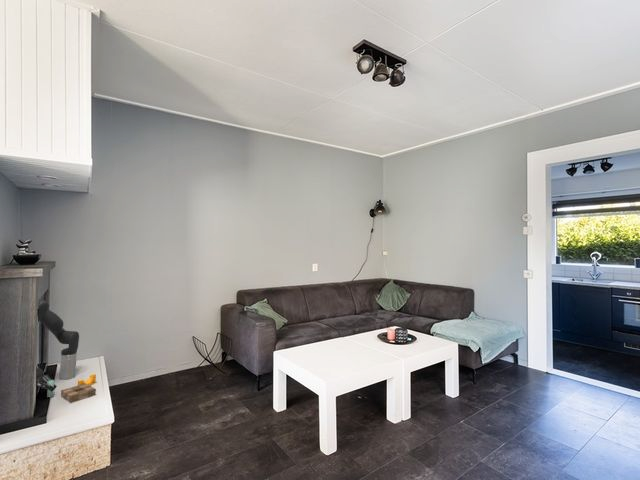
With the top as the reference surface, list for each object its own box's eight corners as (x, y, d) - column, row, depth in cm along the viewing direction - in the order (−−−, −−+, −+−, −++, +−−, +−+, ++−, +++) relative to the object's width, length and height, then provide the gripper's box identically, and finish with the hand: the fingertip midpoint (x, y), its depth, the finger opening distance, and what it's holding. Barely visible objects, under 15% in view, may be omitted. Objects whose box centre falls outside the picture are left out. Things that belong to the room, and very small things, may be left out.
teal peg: (46, 396, 214) (47, 380, 214) (51, 395, 217) (52, 379, 217) (48, 398, 213) (49, 382, 213) (53, 396, 215) (54, 380, 215)
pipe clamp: (90, 382, 237) (90, 373, 238) (95, 383, 237) (95, 374, 237) (75, 390, 226) (75, 380, 226) (80, 390, 225) (81, 381, 225)
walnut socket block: (60, 396, 215) (61, 390, 215) (85, 389, 227) (85, 383, 227) (70, 403, 208) (71, 396, 208) (95, 395, 220) (95, 389, 220)
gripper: (32, 371, 206) (56, 389, 210) (41, 363, 219) (63, 380, 223) (21, 381, 203) (45, 398, 208) (30, 372, 216) (53, 389, 221)
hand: (54, 389), depth 216 cm, fingers closed on teal peg, 3 cm apart
